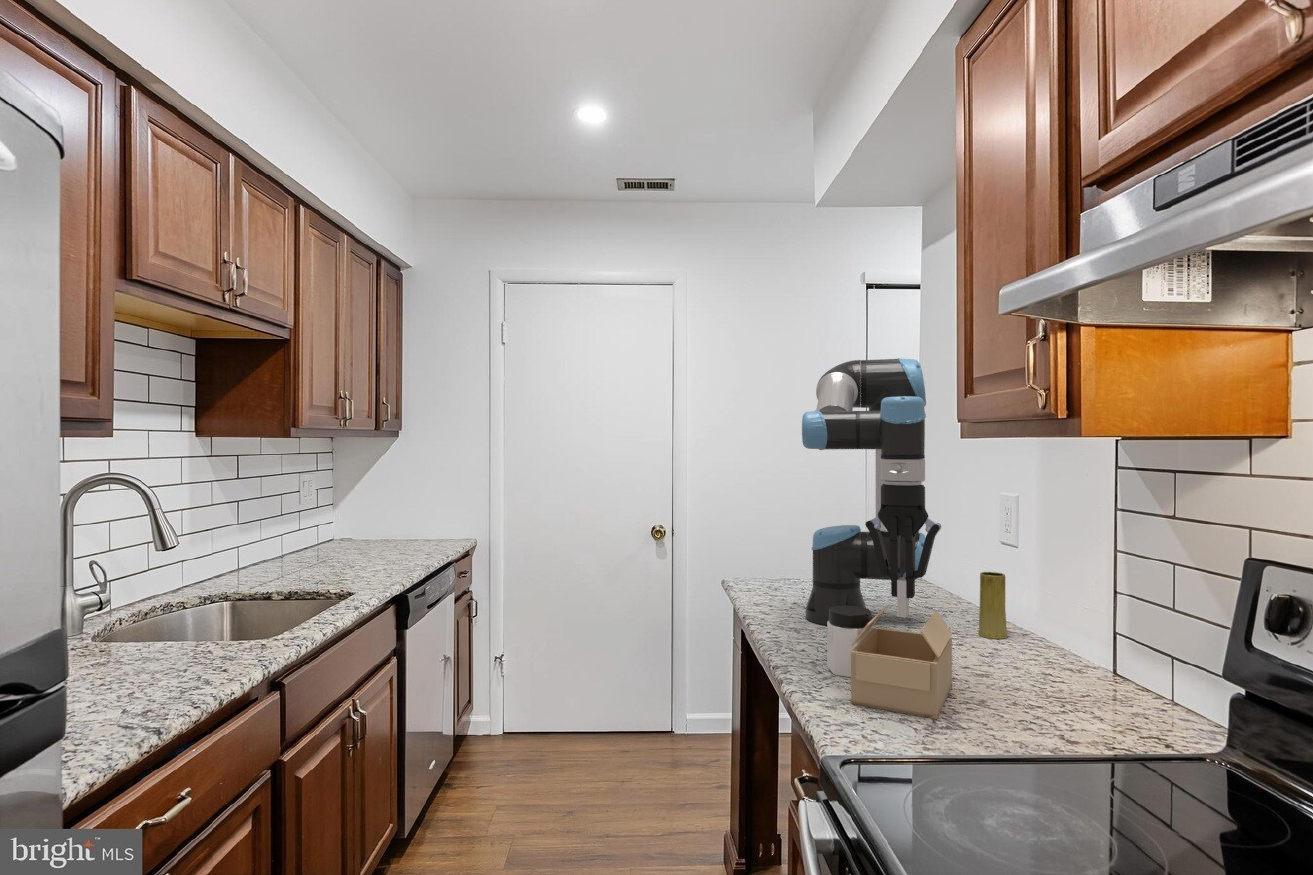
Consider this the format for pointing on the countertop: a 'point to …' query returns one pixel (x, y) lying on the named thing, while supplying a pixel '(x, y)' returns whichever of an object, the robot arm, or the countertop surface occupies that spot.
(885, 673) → the carton
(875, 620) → the flap
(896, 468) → the robot arm
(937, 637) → the flap
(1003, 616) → the vase
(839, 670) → the jar
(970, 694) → the countertop surface
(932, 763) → the countertop surface
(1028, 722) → the countertop surface
